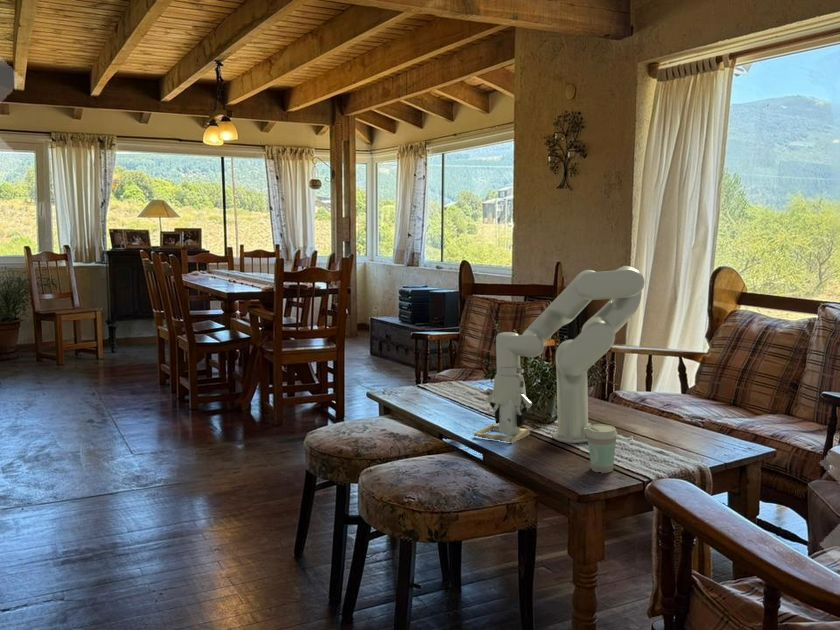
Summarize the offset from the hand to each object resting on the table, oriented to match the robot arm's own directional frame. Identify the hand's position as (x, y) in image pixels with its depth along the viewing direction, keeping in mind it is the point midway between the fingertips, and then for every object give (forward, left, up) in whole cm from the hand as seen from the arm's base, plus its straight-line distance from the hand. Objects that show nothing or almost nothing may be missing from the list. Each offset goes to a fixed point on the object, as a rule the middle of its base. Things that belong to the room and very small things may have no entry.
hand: (509, 423), depth 235 cm
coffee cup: (-37, +14, -5) cm, 40 cm away
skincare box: (0, 0, -3) cm, 3 cm away
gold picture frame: (+3, 0, -5) cm, 6 cm away
